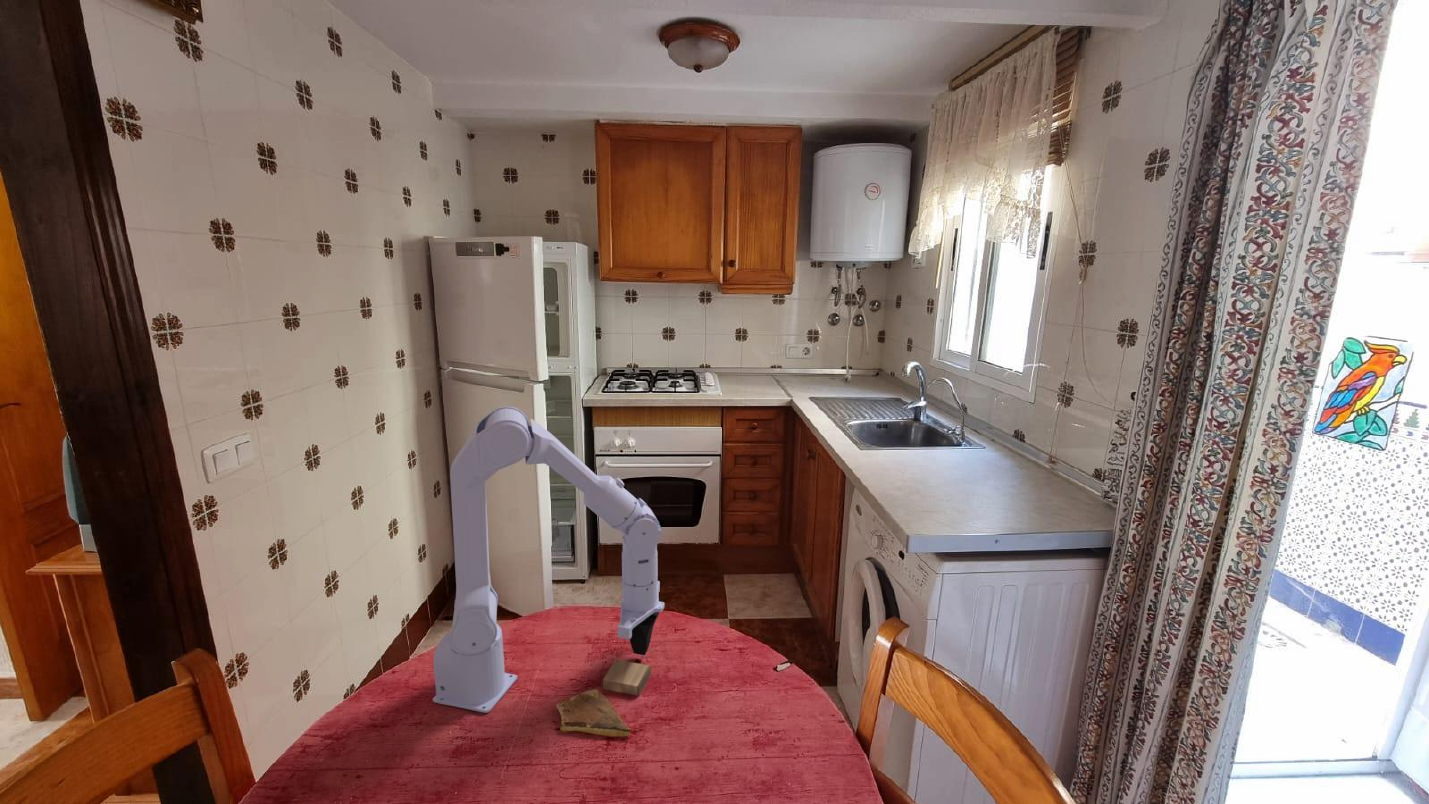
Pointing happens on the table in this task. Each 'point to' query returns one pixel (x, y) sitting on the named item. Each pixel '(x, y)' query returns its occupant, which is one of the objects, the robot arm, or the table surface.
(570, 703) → the shard
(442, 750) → the table surface
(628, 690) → the oak slab
